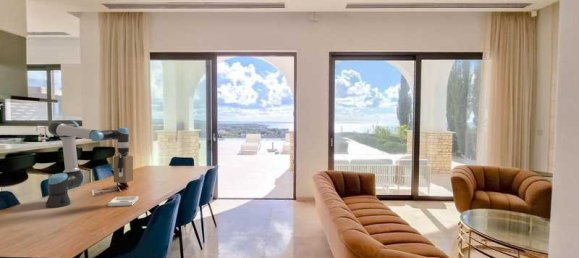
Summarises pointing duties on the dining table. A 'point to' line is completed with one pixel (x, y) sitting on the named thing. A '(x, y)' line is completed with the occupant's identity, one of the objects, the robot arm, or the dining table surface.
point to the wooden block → (127, 169)
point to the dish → (123, 201)
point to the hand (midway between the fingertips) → (123, 174)
